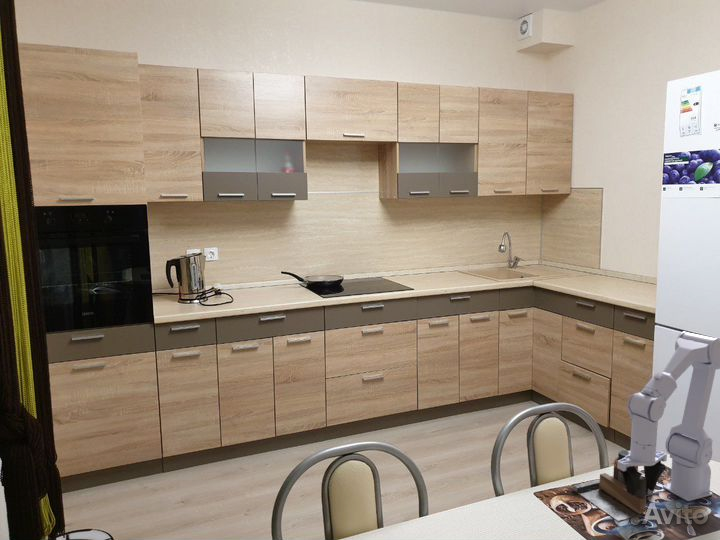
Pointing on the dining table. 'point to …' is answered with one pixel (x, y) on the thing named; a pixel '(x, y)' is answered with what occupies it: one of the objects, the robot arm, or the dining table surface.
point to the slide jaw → (625, 492)
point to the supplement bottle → (617, 472)
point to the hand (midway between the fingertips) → (640, 491)
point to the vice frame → (607, 500)
